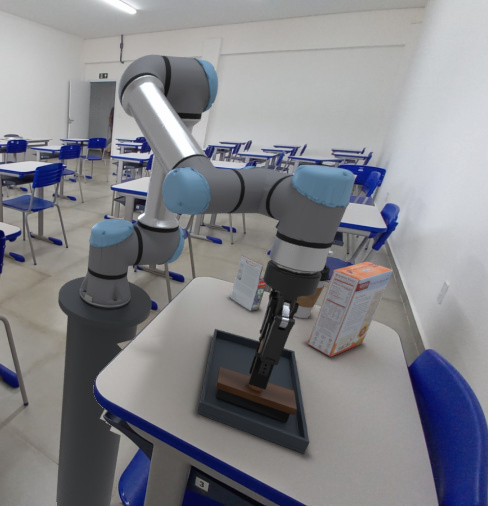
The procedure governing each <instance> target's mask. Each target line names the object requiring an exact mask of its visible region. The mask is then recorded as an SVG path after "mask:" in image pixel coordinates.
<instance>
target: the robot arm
mask: <svg viewBox="0 0 488 506" xmlns="http://www.w3.org/2000/svg"><path fill="white" fill-rule="evenodd" d="M218 91H219V77H218V73H217V71H216V69H215V66H214V65H213V64H212V63H211V62H210V61H208V60H206V59H200V58H197V57H185V56H184V57H183V56H172V55H171V56H170V55H160V54H147V55H143V56H140V57H139V58H137V59H135V60H134V61H132V62H131V63H130V64H129V65H128V66H127V67H126V69H125V70H124V71H123V73H122V75H121V77H120V79H119V82H118V87H117V96H118V100H119V104H120V106H121V108H122V109H123V111H124V113H125V114H126V115H128V116H129V117H130V118H133V119H134V121H135V123H136V125H137V126H138V129H139V130H140V132H141V134H142V135H143V137H144V139H145V141H146V142H147V144H148V146H149V148H150V150H151V151H152V153H153V155H152V162H151V168H150V173H149V181H148V187H147V192H146V200H145V205H144V212H142V213H141V214H139V215H138V216H137V222H136V225H134V224H133V223H132V221H130V220H127V219H123V218H121V219H120V218H119V219H118V218H109V219H104V220H101V221H98V222H96V223H95V224H94V225H93V226H92V227H91V230H90V235H89V236H90V237H89V239H88V240H89V242H88V243H89V249H88V250H89V251H88V261H87V272H86V274H85V276H84V277H85V278H84V280H83V283H82V285H81V288H80V298H81V299H82V301H83V302H85V303H86V304H88V305H90V306H92V307H95V308H99V309H108V310H112V309H119V308H122V307H125V306H126V305H128V304H129V302H130V297H131V293H130V288H129V283H128V282H129V279H128V271H129V267H133V266H135V267H137V266H154V265H155V266H156V265H157V266H162V265H165V264H166V265H167V264H172V263H174V262H176V261H177V260H178V259H179V258H180V257H181V255H182V253H183V250H184V247H185V238H184V236H185V233H184V230H183V229H182V227H181V226H180V221H179V220H178V219H177V217H176V215H187V216H188V215H189V216H197V215H217V214H218V215H219V214H221V215H222V214H226V215H227V214H228V215H229V214H231V215H232V214H235V215H236V214H260V215H263V216H266V217H267V218H270V219H274V220H276V221H278V222H279V223H278V226H277V231H276V233H275V236H274V239H273V242H272V245H271V250H270V252H269V259H270V260H268V261H267V264H266V267H265V271H264V275H263V279H264V282H265V283H266V286H267V287H269V288H271V290H270V291H269V294H268V303H267V305H266V311H265V313H264V318H263V319H262V324H261V328H260V329H259V335H260V336H259V337H258V341H259V342H261V341H262V339H263V338H264V341H263V344H262V348H261V351H260V353H259V352H258V351H259V348H260V344H259V343H258V345H257V349H256V351H255V355H254V358H253V361H252V365H251V368H250V371H249V373H250V374H251V373H252V374H251V377H250V380H249V384H250V385H253V386H256V387H259V388H262V389H265V390H266V387H267V384H268V381H269V378H270V375H271V372H272V369H273V367H274V365H278V363H279V359H280V357H281V354H282V351H283V349H284V348H285V346H286V344H287V342H288V339H289V335H290V333H291V331H292V329H293V327H294V325H296V319H295V318H294V317H295V316H294V314H295V313H296V312H297V310H298V307H299V303H297V302H296V301H297V297H301V296H310V295H313V294H314V293H315V292H316V289H317V286H318V284H319V281H320V278H321V273H320V271H321V270H323V268H324V266H325V265H326V264H327V259H328V258H333V256H334V254H335V253H334V251H333V250H331V249H332V247H333V244H334V241H335V240H334V239H335V236H336V235H337V231H338V230H339V227H340V224H341V223H342V220H343V217H344V216H345V213H346V210H347V207H348V206H349V205H350V202H351V199H350V198H351V195H352V192H353V187H354V185H355V181H356V177H355V174H354V173H353V171H351V170H349V169H345V168H342V167H341V168H340V167H335V166H333V167H332V166H327V165H318V164H302V165H298V166H297V167H296V169H295V170H294V173H293V174H291V173H287V172H283V171H278V170H274V169H270V168H269V167H265V166H255V165H248V166H243V167H242V168H217V167H215V165H214V164H213V162H212V161H211V160H210V159H209V157H208V156H207V154H206V153H205V151H204V150H203V148H202V147H201V145H200V144H199V143H198V141H197V140H196V138H195V137H194V136H193V128H194V126H196V125H197V124H199V122H201V121H202V115H203V113H205V112H207V111H209V110H210V109H211V108H212V106H213V104H214V103H215V101H216V98H217V95H218ZM256 357H257V358H256ZM255 360H256V362H255ZM254 363H255V365H254ZM253 366H254V368H253ZM252 370H253V371H252Z"/></svg>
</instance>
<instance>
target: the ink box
mask: <svg viewBox="0 0 488 506" xmlns="http://www.w3.org/2000/svg"><path fill="white" fill-rule="evenodd" d="M250 263H252V264H253V265H252V264H250ZM254 265H255V266H254ZM263 269H264V264H262V263H260V262H258V261H255V260H254V259H251V258H249V257H247V256H245V255H243V254H242V255H241V257H240V259H239V264H238V267H237V270H236V275H235V278H234V282H233V286H232V290H231V294H230V299H231V300H232V301H233V302H235V303H237V304H238V305H240V306H241V307H243V308H245V309H246V310H248V311H249V312H252V311H258V310H260V306H261V303H262V300H263V296H264V294H265V291H266V287H267V284H266V283H265V282H264V279H263V278H264V276H261V275H262V271H263Z"/></svg>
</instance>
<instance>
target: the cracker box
mask: <svg viewBox="0 0 488 506" xmlns="http://www.w3.org/2000/svg"><path fill="white" fill-rule="evenodd" d="M393 272H394V269H392V268H389V267H385V266H382V265H379V264H377V263H373V262H371V261H364V262H360V263H356V264H352V265H348V266H344V267H341V268H340V267H339V268H336V269H333V271H332V274H331V277H330V280H329V283H328V285H327V287H326V291H325V294H324V297H323V299H322V303H321V306H320V308H319V311H318V314H317V316H316V320H315V322H314V325H313V327H312V331H311V334H310V337H309V339H308V342H307V345H308V346H310V347H312V348H313V349H315V350H317V351H318V352H321V353H322V354H324V355H326V356H327V357H329V358H332V357H334V356H336V355H339V354H341V353H344V352H346V351H348V350H350V349H353V348H355V347H357V346H360V345H362V344H363V343H364V340H365V338H366V335H367V333H368V331H369V328H370V326H371V324H372V322H373V319H374V317H375V314H376V312H377V310H378V307H379V305H380V303H381V300H382V298H383V295H384V294H385V291H386V289H387V286H388V284H389V282H390V279H391V277H392V275H393Z"/></svg>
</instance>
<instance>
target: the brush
mask: <svg viewBox="0 0 488 506" xmlns="http://www.w3.org/2000/svg"><path fill="white" fill-rule="evenodd" d="M263 341H264V338H263V339H262V341H261V344H260V348H259V351H258V352H259V353H260V351H261V348H262V344H263ZM256 358H257V357H256ZM255 362H256V360H255ZM254 365H255V363H254ZM253 368H254V366H253ZM252 371H253V370H252ZM251 374H252V373H251ZM250 377H251V376H247V375H243V374H240V373H237V372H234V371H231V370H228V369H225V368H222V367H220V368H219V372H218V378H217V384H216V388H217V395H216V398H219V399H222V400H224V401H227V402H230V403H233V404H235V405H238V406H241V407H244V408H247V409H249V410H252V411H255V412H258V413H261V414H263V415H266V416H269V417H272V418H275V419H277V420H280V421H283V422H286V423H287V421H288V418H289V416H290V414H292V415H295V412H296V410H297V408H296V401H295V394H294V391H293V390H290V389H287V388H284V387H280V386H277V385H274V384H271V383H268V384H267V387H266V390H265V389H262V388H259V387H256V386H253V385H250V384H249V380H250Z"/></svg>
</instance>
